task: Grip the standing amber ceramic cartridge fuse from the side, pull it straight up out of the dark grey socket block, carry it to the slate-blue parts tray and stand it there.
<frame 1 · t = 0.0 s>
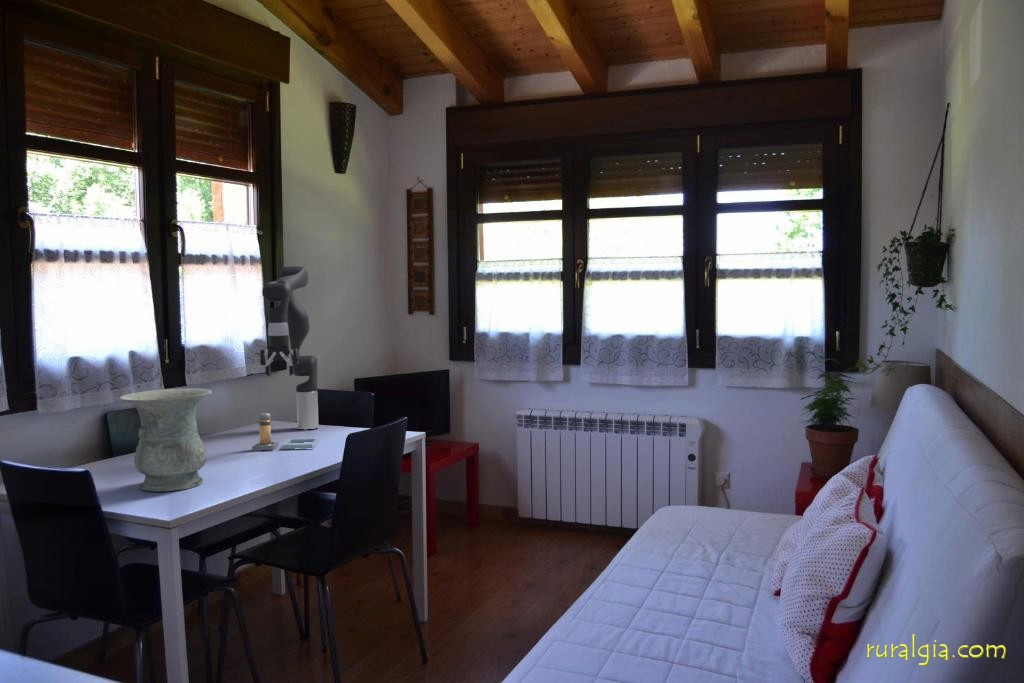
hand: (280, 375, 296), 29 cm above the table, tool pointing down, fingers open, 8 cm apart
parts tray: (300, 446, 304), on the table
socket block: (265, 448, 300), on the table
vessel: (170, 486, 245), on the table
fuse: (265, 449, 300), resting in socket block
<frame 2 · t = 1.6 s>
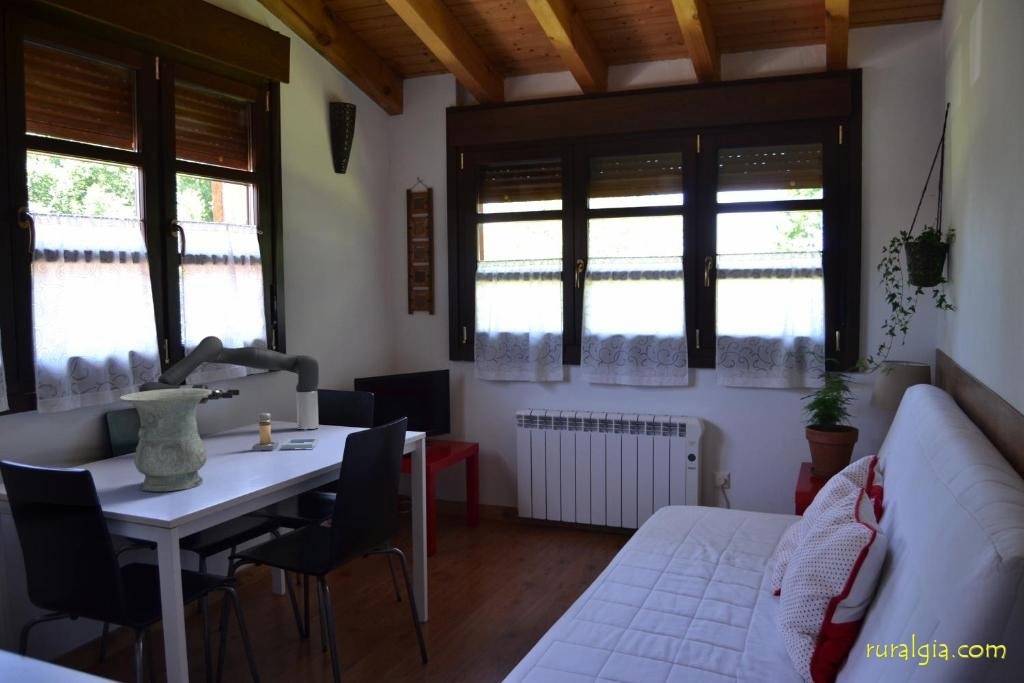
hand: (235, 393, 298), 22 cm above the table, tool horizontal, fingers open, 8 cm apart
nothing on the table moved.
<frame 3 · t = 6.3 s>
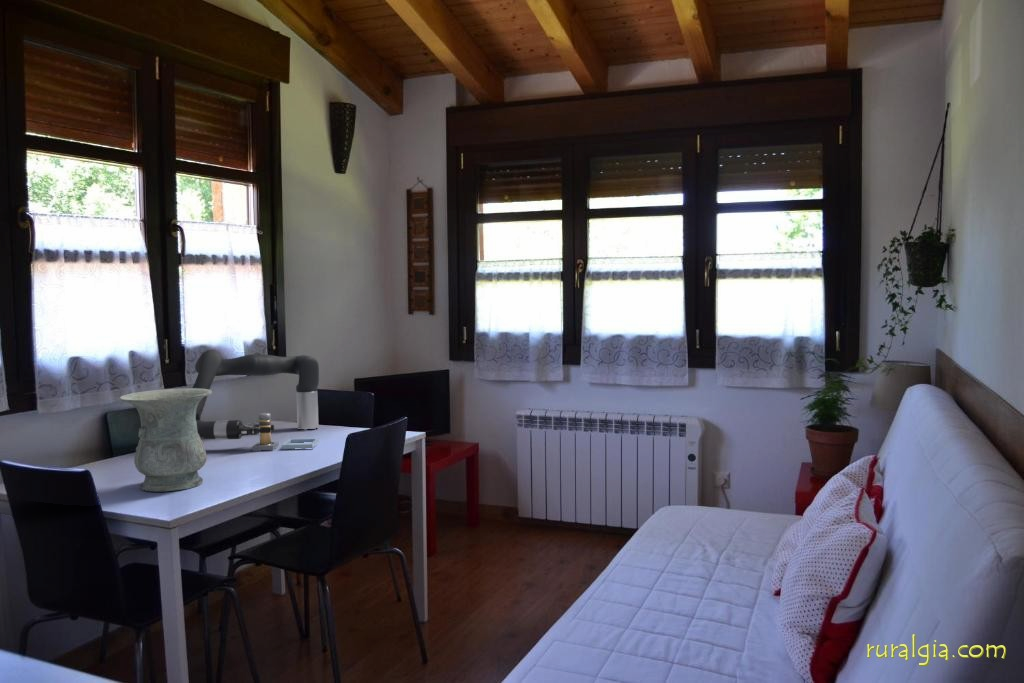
hand: (272, 428, 300), 8 cm above the table, tool horizontal, fingers closed on fuse, 4 cm apart
fuse: (265, 448, 300), resting in socket block, touching gripper
everything else where it was.
when the fingers open (9 cm above the table, at t = 11.0 s): fuse stays where it is, resting on parts tray.
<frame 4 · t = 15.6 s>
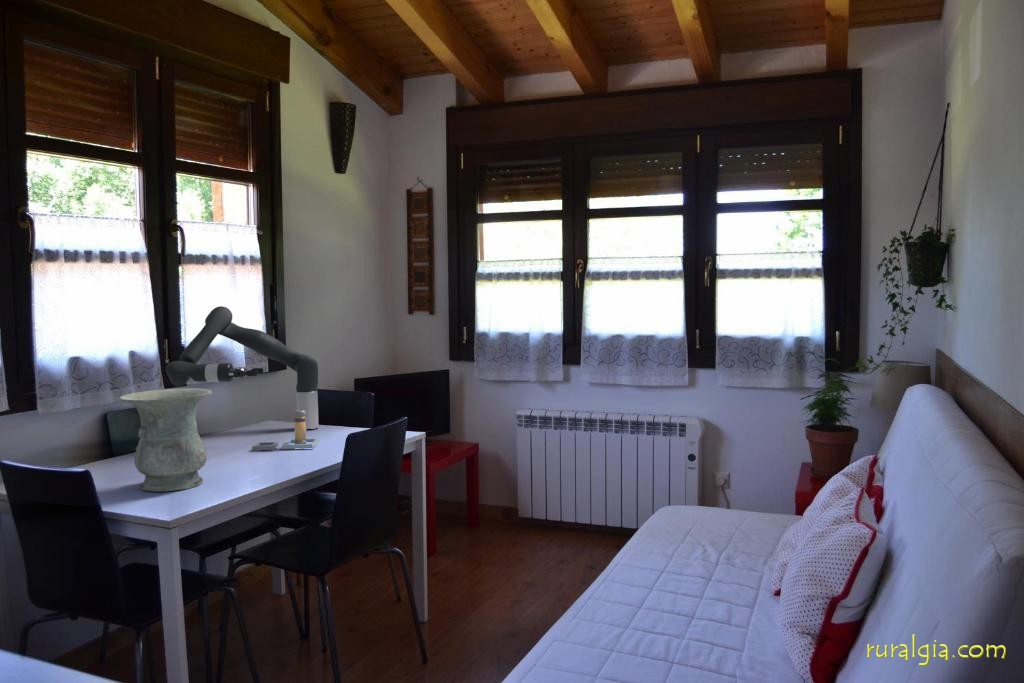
hand: (260, 371, 305), 30 cm above the table, tool horizontal, fingers open, 8 cm apart
fuse: (300, 445, 304), point 1 cm above the table, touching parts tray
everything else where it was.
at the end: fuse inside the target area on the parts tray (0.1 cm from its centre), point 0.5 cm above the parts tray's base; fuse tilted 1°; the gripper is holding nothing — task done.
